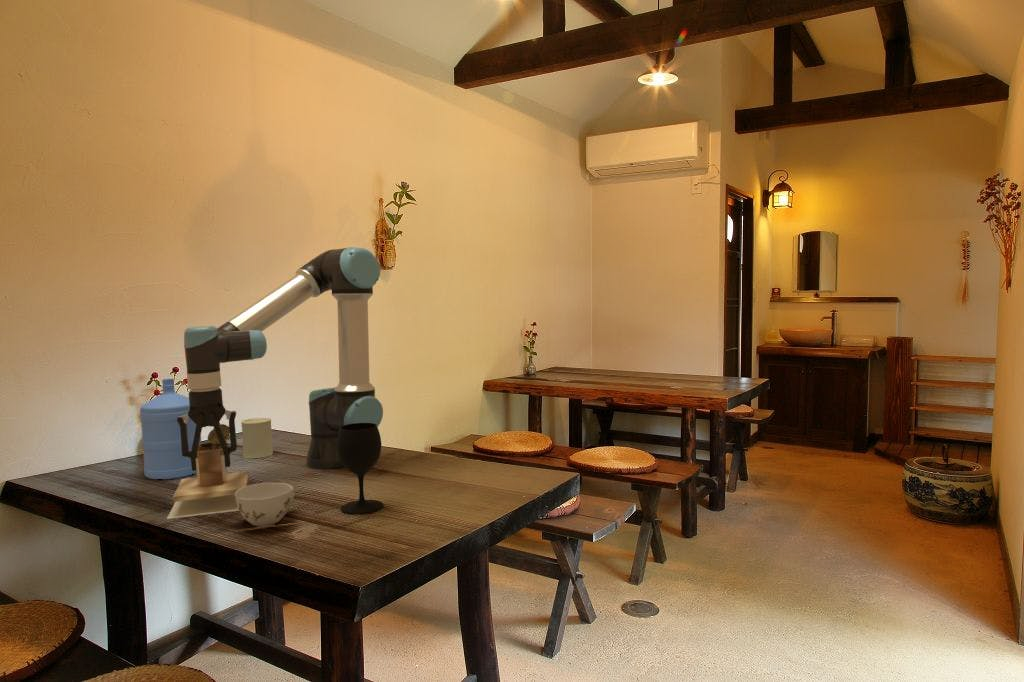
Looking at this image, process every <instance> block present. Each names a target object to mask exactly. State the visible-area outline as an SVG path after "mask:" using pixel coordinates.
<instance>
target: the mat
mask: <svg viewBox="0 0 1024 682" xmlns="http://www.w3.org/2000/svg"><path fill="white" fill-rule="evenodd" d="M237 511H239V509H238V506H237V503H236V498H235V494H233V495H225V496H217V497H209V498H201V499H193V500H185V501H177V502H174V504H173V506H172V508H171V510H170V512H169V514H168V515H167V518H166V519H167V520H169V519H178V518H187V517H194V516H197V517H198V516H203V515H204V516H205V515H213V514H220V513H229V512H237ZM239 512H240V511H239Z"/></svg>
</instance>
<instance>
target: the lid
mask: <svg viewBox="0 0 1024 682" xmlns="http://www.w3.org/2000/svg"><path fill="white" fill-rule="evenodd" d="M221 454H222V449H214V450H204V451H200V453H199V455H198V461H199V473H200V484H198V481H197V477H196V476H195V477H196V478H195V477H188V478H182V479H181V480H180V482H179V484H178V485H177V488H176V490H175V492H174V494H173V496H172V503H175V502H177V501H185V500H193V499H201V498H209V497H217V496H225V495H233V494H235V493H236V491H237V490H239V489H240V488H243V487H245V486H248V483H249V476H250V474H249V473H250V472H249V471H241V472H233V473H227V480H226V481H223V476H222V464H221Z"/></svg>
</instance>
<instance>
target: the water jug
mask: <svg viewBox="0 0 1024 682" xmlns="http://www.w3.org/2000/svg"><path fill="white" fill-rule="evenodd" d="M174 381H175V379H174V378H165V379H161V382H162V393H161V394H159V395H158V396H156V397H154V398H152V399H151V400H149V401H146V402H145V403H144V404H141V405H140V412H139V417H140V422H141V435H142V440H141V443H142V444H141V446H142V452H143V463H144V468H143V473H144V476H145V478H148V479H149V480H157V479H163V480H174V478H175V479H181V478H184V477H185V476H186V477H189V475H190V476H193V475H196V471H192V467H191V459H190V458H189V457H184V456H182V446H181V431H180V425H179V423H178V421H177V418H178V417H179V416H183V415H185V414H188V412H189V409H190V405H189V396H185V395H183V394H180V393H177V392H176V391H175V383H174ZM195 429H196V424H195V423H194V422H193V421H192V420H191V418H188V423H187V433H188V448H189V451H191V450H192V445H193V440H194V435H195ZM200 444H202V435H201V436H200V441H199V445H200ZM192 474H193V475H192ZM186 477H185V478H186Z"/></svg>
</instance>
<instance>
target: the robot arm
mask: <svg viewBox="0 0 1024 682" xmlns="http://www.w3.org/2000/svg"><path fill="white" fill-rule="evenodd" d="M380 276H381V266H380V263H379V261H378V259H377V256H375V255H374V253H373V252H372V251H370V250H369V249H366V248H364V247H359V246H358V247H355V246H351V247H350V246H349V247H345V248H337V249H328V250H326V251H324V252H322V253H319V254H318V255H317V256H315V257H314V258H312V259H311V260H310V261H308V262H307V263H305V264H304V265H302V266H301V267H300V268H298V269H297V270H296V271H295V275H294V276H292V277H291V278H290V279H288V280H287V281H286V282H284V283H283V284H281V285H279V286H278V287H277V288H275V289H274V290H272V291H270V292H269V293H268V294H266V295H265V296H263V297H262V298H260V299H258V300H257V301H256V302H254V303H253V304H251V305H250V306H249V307H247V308H245V309H244V310H243V311H241V312H239V313H238V314H237V315H235V316H234V317H232V318H231V319H229V320H228V321H226V322H225V323H224V324H222V325H220V326H218V327H216V326H214V325H205V326H202V325H201V326H191V327H187V328H185V329H184V334H183V341H184V342H183V348H184V354H185V362H186V379H187V389H189V390H190V391H189V392H188V398H189V405H190V409H189V412H188V414H185V415H183V416H179V417H178V418H177V421H178V423H179V425H180V431H181V446H182V456H184V457H189V458H190V459H191V467H192V471H197V481H198V484H200V473H199V461H198V456H197V451H198V446H199V441H200V436H201V437H202V432H203V431H202V430H203V428H206V427H210V428H211V427H213V429H215V431H216V434H217V437H218V439H219V442H220V444H221V447H222V450H223V452H224V453H222V454H221V464H222V476H223V481H226V480H227V474H228V472H227V473H226V470H227V468H230V466H231V453H234V452H236V451H237V448H238V444H237V443H238V442H237V433H236V421H235V420H236V416H237V411H236V410H232V411H231V410H228V409H226V408H225V406H224V402H223V390H222V388H220V387H221V386H222V378H221V377H222V376H221V364H223V363H225V364H226V363H231V362H232V363H233V362H241V361H254V360H258V359H261V358H263V357H264V356H265V355H266V353H267V349H268V348H267V347H268V345H267V338H266V336H265V334H264V332H263V331H265V330H267V329H268V328H269V327H271V326H272V325H273V324H275V323H276V322H277V321H279V320H280V319H282V318H283V317H284V316H287V315H288V314H289V313H290V312H292V311H293V310H295V309H296V308H297V307H299V306H300V305H301V304H303V303H305V302H306V301H307V300H309V299H310V298H311V297H312V298H317V297H319V296H320V295H322V294H324V293H326V292H328V291H331V296H332V297H333V298H334V299H335V300H336V302H337V333H338V334H337V336H338V337H337V338H338V344H337V345H338V346H337V347H338V379H339V381H338V385H337V386H334V387H327V388H322V389H316V390H314V389H313V390H312V391H311V392H310V393H309V395H308V406H309V407H308V409H309V422H310V424H309V425H310V441H309V446H308V448H307V449H308V450H307V454H306V457H305V459H306V460H305V463H306V464H305V465H306V466H307V467H309V468H312V469H313V468H314V469H334V468H335V469H336V468H342V467H345V466H344V465H343V464H342V462H341V461H340V459H339V456H338V451H337V439H338V433H339V429H340V427H341V426H343V425H347V424H354V423H374V424H376V425H377V427H379V426H380V424H381V423H382V421H383V416H384V408H383V405H382V403H381V402H380V401H379V399H378V398H377V397H376V388H375V386H374V385H373V384H371V382H370V351H369V350H370V348H369V347H370V346H369V345H370V344H369V343H370V342H369V341H370V340H369V304H368V303H369V300H370V298H371V297H372V296H373V295H374V292H373V291H374V288H373V287H374V286H375V285H376V284H377V282H378V281H379V279H380ZM224 416H225V417H226V420H228V427H229V431H230V434H229V440H230V446H229V445H228V442H227V439H225V436H224V433H223V431H222V428H221V420H222V418H223V417H224ZM188 418H191V420H192V421H193V422H194V423H195V424H196V429H195V435H194V440H193V445H192V450H191V451H189V448H188V433H187V423H188Z"/></svg>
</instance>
